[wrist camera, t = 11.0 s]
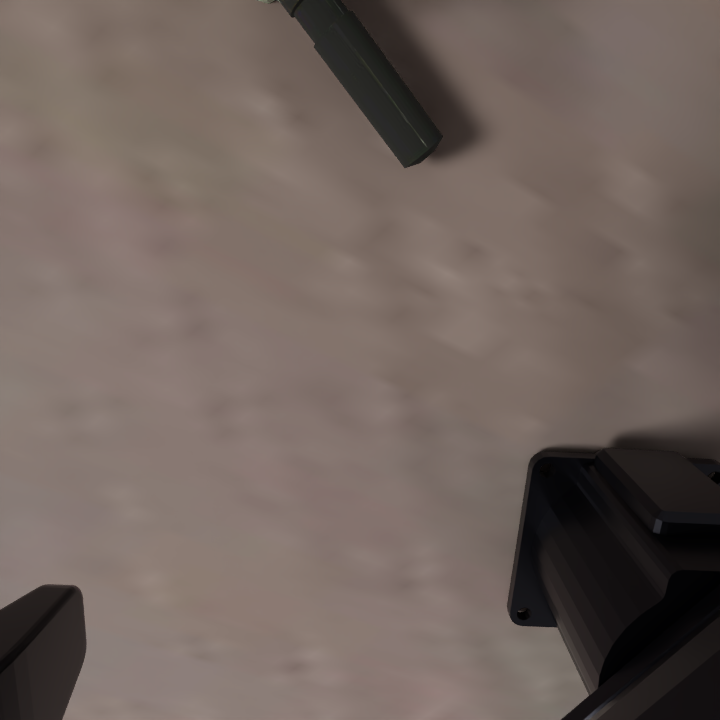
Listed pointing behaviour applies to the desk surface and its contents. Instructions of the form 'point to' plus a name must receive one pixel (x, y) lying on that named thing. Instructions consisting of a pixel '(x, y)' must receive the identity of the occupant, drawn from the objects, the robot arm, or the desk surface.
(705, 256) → the desk surface
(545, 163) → the desk surface
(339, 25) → the handheld radio
